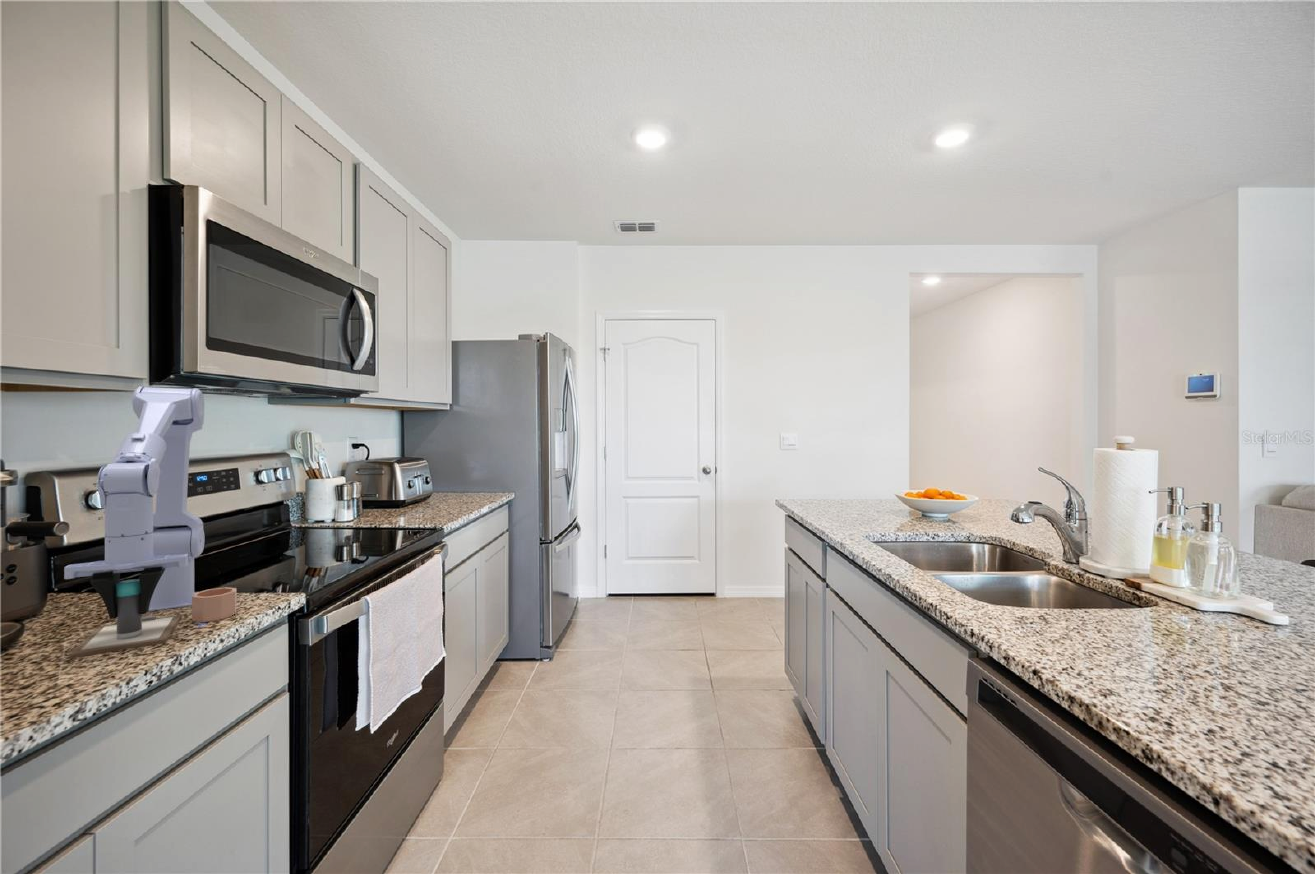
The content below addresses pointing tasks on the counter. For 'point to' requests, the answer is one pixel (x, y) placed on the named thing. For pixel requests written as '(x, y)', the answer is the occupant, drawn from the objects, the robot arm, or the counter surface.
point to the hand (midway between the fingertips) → (129, 614)
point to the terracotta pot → (214, 604)
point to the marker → (128, 609)
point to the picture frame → (107, 638)
